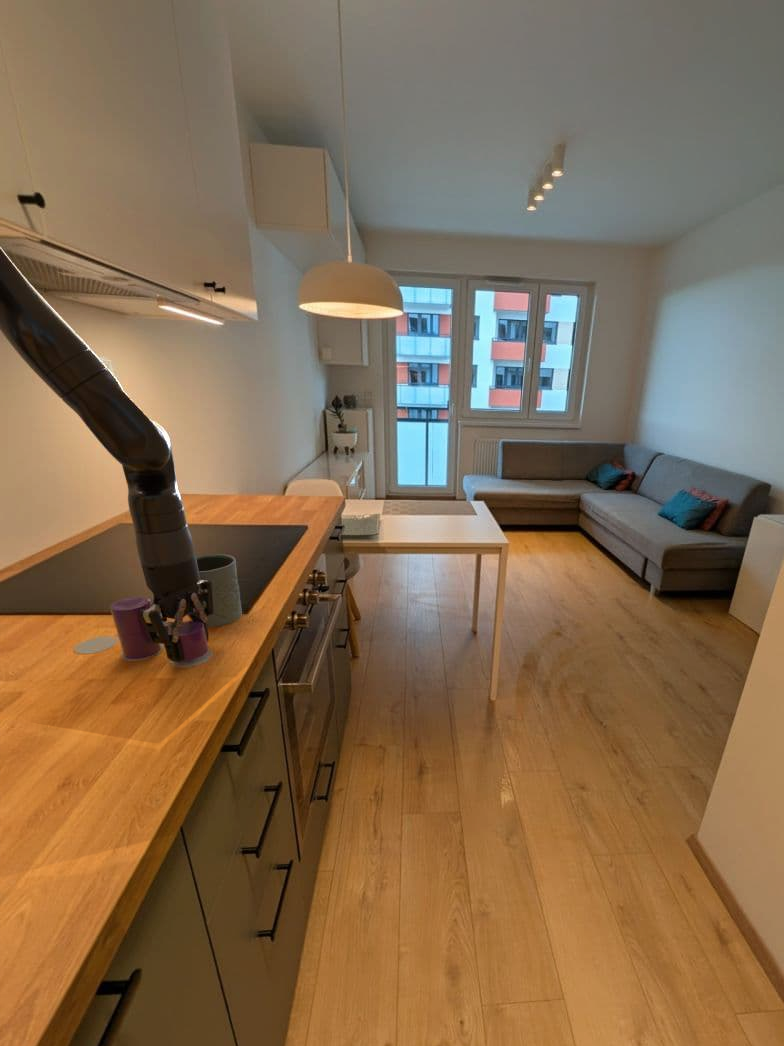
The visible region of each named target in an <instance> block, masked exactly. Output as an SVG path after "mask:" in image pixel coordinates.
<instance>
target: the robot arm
mask: <svg viewBox="0 0 784 1046" xmlns="http://www.w3.org/2000/svg"><path fill="white" fill-rule="evenodd" d="M0 332H1V333H2V335H3V336H4V337H5V338H6V340H7V341H8V343H9V344H10V345H11V346H12V348H13V349H14V350H15V352H16V353H17V354H18V355H19V356H20V358H21V359H22V360H23V361H24V362H25V363H26V364H27V366H28V367H29V368H30V369H31V370H32V371H33V372H34V374H36V375H37V376H38V377H39V378H40V379H41V380H42V381H43V382H44V383H45V384H46V385H47V387H49V389H51V391H52V392H54V394H55V395H56V396H57V397H58V398H59V399H61V401H63V402H64V403H65V405H67V406H68V407H69V408H71V410H72V411H73V412H75V413H76V415H77V416H78V417H79V418H80V419H81V421H82V422H83V423H84V424H85V426H86V427H87V428H88V429H89V431H90V432H91V433H92V434H93V436H94V437H95V439H97V441H98V442H99V443H100V444H101V445H102V447H103V448H104V449H105V450H106V452H108V453H109V455H111V456H112V458H113V459H115V460H116V461H117V462H118V463H119V464H120V465H121V466H122V470H123V473H124V478H125V482H126V486H127V491H128V492H127V502H128V503H127V504H128V509H129V514H130V518H131V521H132V525H133V529H134V534H135V544H136V545H135V546H136V550H137V553H138V557H139V561H140V565H141V569H142V573H143V577H144V580H145V585H146V587H147V588H148V590H150V592H151V593H152V594H153V600H152V605H151V607H150V608H149V609H148V610H140V612H139V617H140V619H141V621H142V623H143V626H144V628H145V630H146V632H147V634H148V636H149V639H150V641H151V642H152V643H161V644H162V645H163V646H164V649H165V653H166V657H167V659H168V660H169V661H170V660H171V661H175V662H181V661H182V660H184V655H183V651H182V647H181V643H180V640H178V639H179V629H180V627H182V625H183V622H184V618H185V617H186V616H187V617H188V619H189V621H199V622H202V623H203V624H204V629H205V633H206V638H207V643H208V642H209V640H210V639H209V631H208V627H207V625H206V622H207V620H208V618H207V617H208V616H209V615H212V614H213V611H214V610H213V596H212V583H211V581H205V580H200V575H199V570H198V565H197V560H196V557H197V556H196V551H195V547H194V542H193V537H192V535H191V532H190V529H189V527H188V522H187V517H186V511H185V507H184V503H183V500H182V497H181V493H180V490H179V487H178V481H177V474H176V467H175V460H174V454H173V447H172V442H171V439H170V436H169V434H168V432H167V431H166V429H165V428H164V427H163V426H162V425H161V424H160V423H158V422H157V421H155V420H153V419H150V418H149V417H148V416H147V414H146V413H144V411H143V410H142V409H141V408H140V407H139V406H138V405H137V404H136V403H135V401H133V399H131V397H130V396H129V395H128V394H127V392H125V390H124V388H123V385H121V383H120V382H119V380H118V379H117V377H116V376H115V375H114V374H113V372H112V371H111V370H110V368H108V366H107V365H105V363H104V362H103V361H102V360H101V359H100V357H98V355H97V354H96V353H95V352H94V351H93V350H92V349H91V348H90V347H89V345H88V344H87V343H86V342H85V341H84V340H83V339H82V338H81V336H79V334H77V332H76V330H74V329H73V328H72V327H71V326H70V325H69V324H68V323H67V321H65V320H64V318H63V317H62V316H61V315H60V314H59V313H58V312H57V311H56V310H55V309H54V308H53V307H52V306H51V305H50V304H49V303H48V301H47V300H46V299H45V298H44V297H43V296H42V295H41V294H40V293H39V292H38V290H37V289H35V287H34V286H33V285H32V284H31V283H30V282H29V281H28V279H27V278H26V277H25V276H24V274H22V272H21V271H20V270H19V268H17V266H16V265H15V263H14V262H12V260H11V259H10V257H9V256H8V255H7V254H6V252H5V251H4V250H3V248H2V247H1V246H0ZM203 601H205V602H206V607H203ZM168 619H171V620H174V621H169V620H168ZM169 627H171V634H168V630H169ZM157 634H158V635H157Z"/></svg>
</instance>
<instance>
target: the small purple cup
mask: <svg viewBox="0 0 784 1046" xmlns="http://www.w3.org/2000/svg"><path fill="white" fill-rule="evenodd" d="M116 633H117V632H116ZM157 635H158V634H157ZM117 637H118V640H119V644H120V648H121V651H122V652H123V654H124V657H126V658H128V659H140V658H145V657H149V656H151V655H153V654H155V653H157V652H158V651H159V650H160V649H161V645H160V643H152V642H151V641H150V639H149V636H148V634H147V632H143V633H140V634H135V635H121V634H118V633H117Z"/></svg>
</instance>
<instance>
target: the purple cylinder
mask: <svg viewBox="0 0 784 1046" xmlns="http://www.w3.org/2000/svg"><path fill="white" fill-rule="evenodd" d="M109 605H110V606H109V610H110V613H111V616H112V619H113V623H114V627H115V630H116V633H118V634H121V635H135V634H140V633H143V632H146V630H145V628H144V626H143V623H142V621H141V619H140V617H139V612H140V610H148V609H149V608H150V607H151V606H152V605H151V602H150V599H149V598H148V597H146V596H130V597H125V598H121V599H119V600H116V601H114V602H112V603H111V604H109ZM118 634H117V635H118Z"/></svg>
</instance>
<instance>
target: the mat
mask: <svg viewBox="0 0 784 1046" xmlns="http://www.w3.org/2000/svg"><path fill="white" fill-rule="evenodd" d="M118 640H119V639H118V638H116V637H115V636H109V635H105V636H97V637H92V638H89V639H85V640H84V641H81V642H80V643H78V644H77V645H75V647H73V651H74V653H76V654H78V655H92V654H97V653H100V652H104V651H106V650H110V649H111V648H113V647H114V646H115V645H117V643H118ZM160 645H161V649H160V650H159V651H158V652H157V653H155V654H153V655H151V656H149V657H145V658H140V659H128V658H126V657H124V654H123V651H122V652H121V654H120V657H121V659H122V660H124V661H127V662H128V661H129V662H136V661H137V662H138V661H143V660H147V659H150V658H153V657H155V656H157V655H159V654H160V653H162V651H163V650H164V649H165V646H164V644H161V643H160ZM212 655H213V652H212V651H211V650H210V649H209V650H208V652H207V653H206V654H204V655H202V656H201V657H198V658H195V659H191V660H182V661H181V662H175V661H171V660H170V659H169V664H170V666H172V667H175V668H179V669H181V668H182V669H184V668H185V669H187V668H192V667H196V666H200V665H201V664H204V663H205V662H207V661H209V660H210V659H211V658H212Z"/></svg>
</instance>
